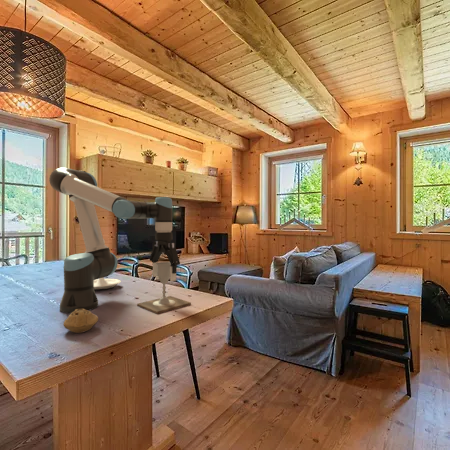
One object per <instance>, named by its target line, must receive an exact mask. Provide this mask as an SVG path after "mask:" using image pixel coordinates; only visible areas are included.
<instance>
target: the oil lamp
mask: <svg viewBox="0 0 450 450" xmlns="http://www.w3.org/2000/svg"><path fill="white" fill-rule="evenodd" d="M98 321H99V317H98V315H96V314H94V313H93V312H92V311H91V310H85V309H76V310H75V311H74V312H72V313H69V315H68V316H67V318H66V319H65V320H64V321H63V327H64V328H65V329H66V330H68V331H70V332H71V333H77V334H80V333H85V332H87V331H90V330H91V329H92V327H94V326H95V325H96V324H97V323H98Z"/></svg>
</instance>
